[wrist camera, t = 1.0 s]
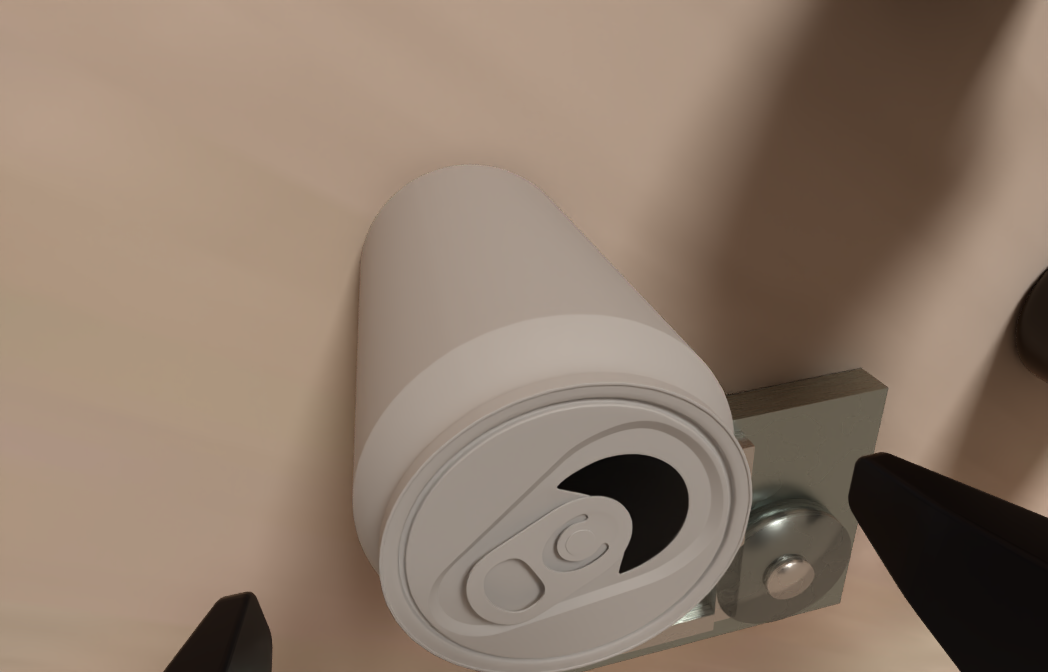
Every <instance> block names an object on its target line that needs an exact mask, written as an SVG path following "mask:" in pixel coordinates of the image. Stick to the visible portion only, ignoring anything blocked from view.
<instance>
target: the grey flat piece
mask: <svg viewBox="0 0 1048 672" xmlns="http://www.w3.org/2000/svg"><path fill="white" fill-rule="evenodd" d="M887 392H888V387H887V386H885V385H884V384H883V383H881V382H880V381H879V380H877V379H876V378H874V377H873V376H872V375H870V374H869V373H868V372H866V371H865V370H863V369H862V368H859V369H854V370H849V371H844V372H839V373H835V374H830V375H825V376H820V377H815V378H810V379H805V380H800V381H795V382H791V383H786V384H781V385H776V386H771V387H766V388H761V389H756V390H752V391H747V392H742V393H737V394H732V395H727V396H726V398H727V401H728V404H729V407H730V411H731V415H732V420H733V428H734V436H735V438H736V439H737V441H738V442H739V444H740V446H741V447H742V449H743V451H744V454H745V456H746V459H747V462H748V465H749V469H750V473H751V481H752V505H751V511H750V515H749V520H748V524H747V528H746V531H745V535H744V538H743V541H742V543H741V546H740V548H739V550H738V552H737V553H736V555H735V557H734V559H733V561H732V563H731V564H730V566H729V568H728V569H727V570H726V572H725V573H724V575H723V576H722V577H721V579H720V580H719V581H718V583H717V584H716V585H715V586H714V588H713V589H712V590H711V591H710V592H709V593H708V594H707V595H706V596H705V597H704V598H703V599H702V600H701V601H700V602H699V603H698V604H697V605H696V606H695V607H694V608H693V609H692V610H691V611H690V612H688V613H687V614H686V615H685V616H684V617H682V618H681V619H680V620H678V621H677V622H676V623H675V624H673V625H672V626H671V627H669V628H668V629H666V630H665V631H663V632H662V633H660V634H658V635H657V636H655V637H654V638H652V639H650V640H648V641H647V642H645V643H643V644H641V645H639V646H637V647H635V648H633V649H631V650H629V651H626V652H624V653H622V654H620V655H617V656H615V657H612V658H610V659H607V660H604V661H601V662H598V663H595V664H592V665H588V666H585V667H581V668H577V669H572V670H568V671H562V672H583V671H587V670H590V669H594V668H598V667H602V666H605V665H609V664H613V663H617V662H621V661H624V660H628V659H632V658H636V657H639V656H643V655H647V654H651V653H654V652H658V651H662V650H666V649H669V648H673V647H677V646H681V645H684V644H688V643H692V642H696V641H699V640H703V639H707V638H711V637H714V636H718V635H722V634H726V633H729V632H733V631H737V630H741V629H744V628H748V627H752V626H756V625H759V624H763V623H768V622H773V621H777V620H781V619H784V618H787V617H790V616H793V615H797V614H801V613H805V612H808V611H812V610H816V609H820V608H823V607H827V606H831V605H835V604H838V603H840V600H841V595H842V591H843V587H844V582H845V578H846V573H847V569H848V564H849V560H850V556H851V551H852V547H853V542H854V538H855V533H856V529H857V525H858V522H857V520H856V518H855V517H854V515H853V513H852V512H851V509H850V507H849V503H848V493H849V488H850V484H851V479H852V475H853V470H854V465H855V462H856V461H857V460H858V458H860V457H862V456H866V455H870V454H874V449H875V445H876V440H877V436H878V432H879V427H880V423H881V418H882V414H883V409H884V405H885V401H886V396H887Z"/></svg>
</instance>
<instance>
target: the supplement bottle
mask: <svg viewBox="0 0 1048 672" xmlns="http://www.w3.org/2000/svg"><path fill="white" fill-rule="evenodd" d="M1015 340H1016V347H1017V351H1018V355H1019V357H1020V359H1021V361H1022V363H1023V364H1024V365H1025V367H1026V368H1027V369H1028V370H1029V371H1030V372H1031V373H1033V374H1034V375H1036V376H1037V377H1039V378H1040V379H1042V380H1044V381H1046V382H1047V383H1048V270H1047V271H1046V272H1045V273H1044V274H1043V275H1042V277H1041V278H1040V279H1039V280H1038V282H1037V283H1036V284H1035V286H1034V287H1033V289H1032V290H1031V292H1030V293H1029V295H1028V297H1027V299H1026V300H1025V303H1024V305H1023V307H1022V309H1021V312H1020V314H1019V318H1018V321H1017V326H1016V339H1015Z"/></svg>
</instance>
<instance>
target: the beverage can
mask: <svg viewBox="0 0 1048 672" xmlns="http://www.w3.org/2000/svg"><path fill="white" fill-rule="evenodd" d="M352 504H353V517H354V522H355V527H356V532H357V535H358V538H359V542H360V544H361V546H362V549H363V551H364V553H365V555H366V557H367V558H368V560H369V562H370V564H371V565H372V567H373V568H374V570H375V571H376V572H377V573H378V574H379V576H380V582H381V587H382V591H383V595H384V598H385V601H386V603H387V606H388V608H389V610H390V612H391V613H392V615H393V617H394V619H395V620H396V622H397V623H398V624H399V626H400V627H401V628H402V629H403V630H404V631H405V632H406V634H407V635H408V636H409V637H410V638H411V639H412V640H413V641H415V642H416V643H417V644H419V645H420V646H421V647H423V648H424V649H426V650H427V651H428V652H430V653H432V654H433V655H435V656H437V657H439V658H441V659H443V660H446V661H448V662H450V663H452V664H455V665H458V666H461V667H464V668H468V669H472V670H476V671H481V672H562V671H568V670H572V669H577V668H581V667H585V666H588V665H592V664H595V663H598V662H601V661H604V660H607V659H610V658H612V657H615V656H617V655H620V654H622V653H624V652H626V651H629V650H631V649H633V648H635V647H637V646H639V645H641V644H643V643H645V642H647V641H648V640H650V639H652V638H654V637H655V636H657V635H658V634H660V633H662V632H663V631H665V630H666V629H668V628H669V627H671V626H672V625H673V624H675V623H676V622H677V621H678V620H680V619H681V618H682V617H684V616H685V615H686V614H687V613H688V612H690V611H691V610H692V609H693V608H694V607H695V606H696V605H697V604H698V603H699V602H700V601H701V600H702V599H703V598H704V597H705V596H706V595H707V594H708V593H709V592H710V591H711V590H712V589H713V588H714V586H715V585H716V584H717V583H718V581H719V580H720V579H721V577H722V576H723V575H724V573H725V572H726V570H727V569H728V568H729V566H730V564H731V563H732V561H733V559H734V557H735V555H736V553H737V552H738V550H739V548H740V546H741V543H742V541H743V538H744V535H745V531H746V528H747V524H748V520H749V515H750V511H751V505H752V481H751V473H750V469H749V465H748V462H747V459H746V456H745V454H744V451H743V449H742V447H741V446H740V444H739V442H738V441H737V439H736V438H735V436H734V428H733V420H732V415H731V411H730V407H729V404H728V401H727V398H726V396H725V393H724V391H723V389H722V387H721V386H720V384H719V382H718V380H717V379H716V377H715V376H714V374H713V373H712V371H711V370H710V368H709V367H708V366H707V365H706V364H705V362H704V361H703V360H702V359H701V358H700V357H699V356H698V355H697V354H696V353H695V352H694V351H693V350H692V349H691V348H690V346H689V345H688V344H687V343H686V342H685V341H684V340H683V339H682V338H681V337H680V336H679V335H678V334H677V333H676V332H675V331H674V329H673V328H672V327H671V326H670V325H669V324H668V323H667V322H666V321H665V320H664V319H663V318H662V317H661V316H660V315H659V314H658V313H657V311H656V310H655V309H654V308H653V307H652V306H651V305H650V304H649V303H648V302H647V301H646V300H645V299H644V298H643V297H642V296H641V294H640V293H639V292H638V291H637V290H636V289H635V288H634V287H633V286H632V285H631V284H630V283H629V282H628V281H627V280H626V279H625V277H624V276H623V275H622V274H621V273H620V272H619V271H618V270H617V269H616V268H615V267H614V266H613V265H612V264H611V263H610V262H609V261H608V259H607V258H606V257H605V256H604V255H603V254H602V253H601V252H600V251H599V250H598V249H597V248H596V247H595V246H594V245H593V244H592V242H591V241H590V240H589V239H588V238H587V237H586V236H585V235H584V234H583V233H582V232H581V231H580V230H579V229H578V228H577V227H576V226H575V224H574V223H573V222H572V221H571V220H570V219H569V218H568V217H567V216H566V215H565V214H564V213H563V212H562V211H561V210H560V209H559V207H558V206H557V205H556V204H555V203H554V202H553V201H552V200H551V199H550V198H549V197H548V196H547V195H546V194H545V193H544V192H543V191H542V190H541V189H540V188H538V187H537V186H536V185H534V184H533V183H531V182H530V181H528V180H527V179H525V178H523V177H521V176H519V175H517V174H515V173H513V172H510V171H508V170H505V169H501V168H497V167H493V166H487V165H474V164H466V165H456V166H449V167H445V168H441V169H438V170H434V171H431V172H429V173H426V174H424V175H422V176H420V177H418V178H416V179H414V180H413V181H411V182H409V183H408V184H407V185H405V186H404V187H403V188H401V189H400V190H399V191H398V192H396V193H395V194H394V195H393V196H392V197H391V198H390V199H389V200H388V201H387V202H386V204H385V205H384V206H383V207H382V208H381V210H380V211H379V213H378V214H377V216H376V217H375V219H374V221H373V222H372V224H371V226H370V228H369V231H368V233H367V236H366V239H365V241H364V245H363V249H362V254H361V261H360V288H359V318H358V348H357V377H356V407H355V437H354V466H353V496H352Z"/></svg>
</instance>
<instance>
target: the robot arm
mask: <svg viewBox="0 0 1048 672" xmlns="http://www.w3.org/2000/svg"><path fill="white" fill-rule="evenodd" d="M848 503H849V507H850V509H851V512H852V513H853V515H854V517H855V518H856V520H857V522H858V523H859V525H860V526H861V528H862V530H863V531H864V533H865V534H866V536H867V538H868V539H869V541H870V543H871V544H872V546H873V547H874V549H875V551H876V552H877V554H878V555H879V557H880V559H881V560H882V562H883V563H884V565H885V567H886V568H887V570H888V572H889V573H890V575H891V576H892V578H893V580H894V581H895V583H896V584H897V586H898V587H899V589H900V591H901V592H902V594H903V595H904V597H905V598H906V600H907V601H908V602H909V604H910V605H911V607H912V608H913V609H914V611H915V612H916V613H917V615H918V616H919V617H920V619H921V620H922V621H923V623H924V624H925V625H926V627H927V628H928V629H929V631H930V632H931V633H932V635H933V636H934V637H935V639H936V640H937V641H938V643H939V644H940V645H941V647H942V648H943V649H944V650H945V652H946V653H947V654H948V656H949V657H950V658H951V660H952V661H953V662H954V664H955V665H956V666H957V668H958V669H959V670H960V672H1048V518H1047V517H1045V516H1042V515H1040V514H1037V513H1035V512H1032V511H1030V510H1027V509H1025V508H1022V507H1020V506H1018V505H1015V504H1013V503H1010V502H1008V501H1005V500H1003V499H1000V498H998V497H995V496H993V495H990V494H988V493H985V492H983V491H981V490H978V489H976V488H973V487H971V486H968V485H966V484H963V483H961V482H958V481H956V480H953V479H951V478H948V477H946V476H943V475H941V474H939V473H936V472H934V471H931V470H929V469H926V468H924V467H921V466H919V465H916V464H914V463H911V462H909V461H906V460H904V459H901V458H899V457H897V456H894V455H892V454H889V453H885V452H880V453H875V454H870V455H866V456H862V457H860V458H858V460H857V461H856V462H855V465H854V470H853V475H852V479H851V484H850V488H849V493H848ZM163 672H272V637H271V632H270V629H269V626H268V624H267V622H266V619H265V617H264V614H263V612H262V609H261V607H260V605H259V602H258V600H257V598H256V596H255V595H254V594H253V593H252V592H243V593H239V594H234V595H230V596H225V597H222V598H221V599H219V600H218V601H217V602H216V603H215V604H214V606H213V607H212V608H211V610H210V611H209V612H208V614H207V615H206V616H205V618H204V619H203V620H202V621H201V623H200V624H199V625H198V627H197V628H196V629H195V631H194V632H193V633H192V635H191V636H190V637H189V639H188V640H187V641H186V643H185V644H184V645H183V646H182V648H181V649H180V650H179V652H178V653H177V654H176V656H175V657H174V658H173V660H172V661H171V662H170V664H169V665H168V666H167V667H166V669H165V670H164V671H163Z"/></svg>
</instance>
